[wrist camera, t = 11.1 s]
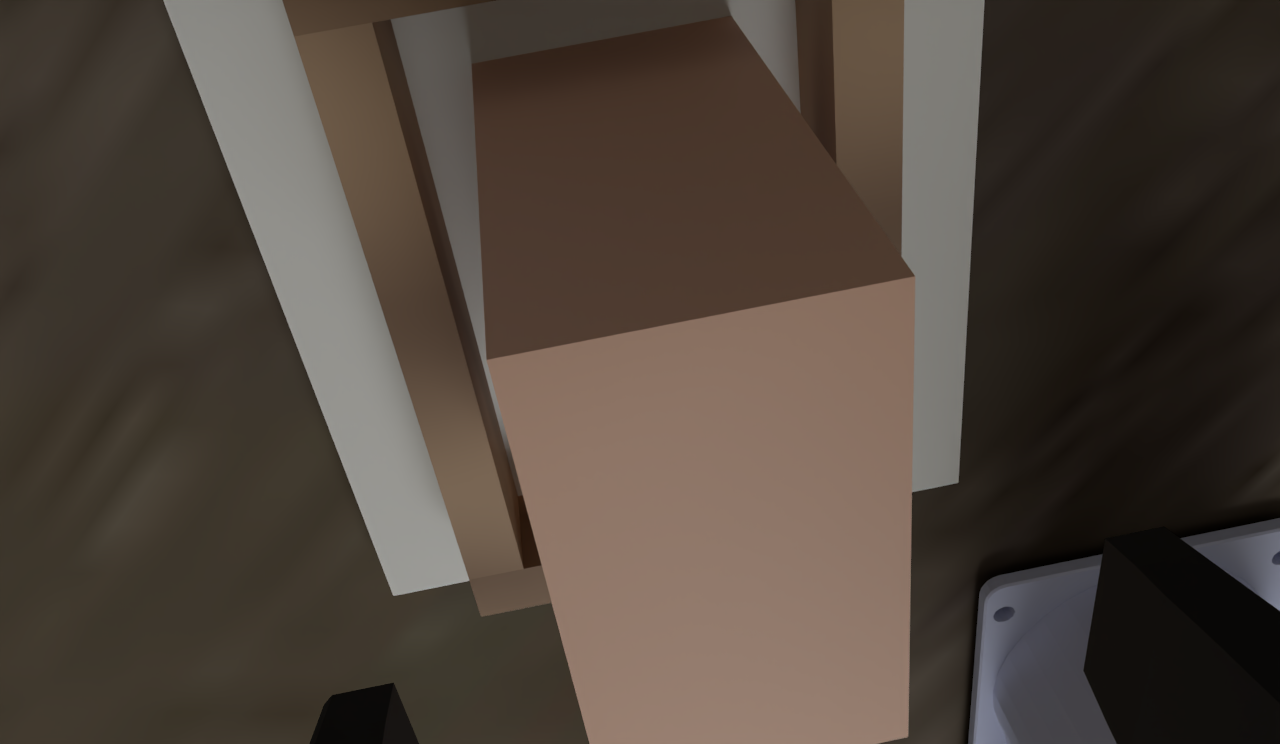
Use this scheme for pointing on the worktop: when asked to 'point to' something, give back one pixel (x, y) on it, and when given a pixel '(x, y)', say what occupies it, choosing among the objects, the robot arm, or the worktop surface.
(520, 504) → the cradle
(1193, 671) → the robot arm
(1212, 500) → the worktop surface
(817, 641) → the key block
